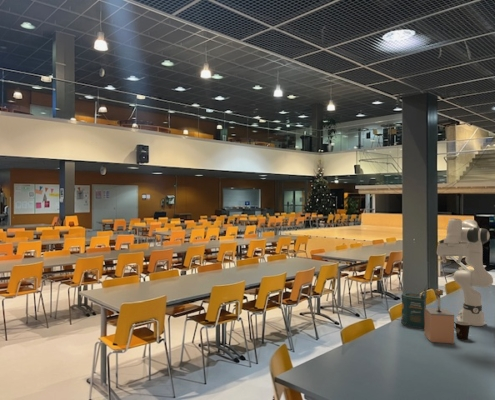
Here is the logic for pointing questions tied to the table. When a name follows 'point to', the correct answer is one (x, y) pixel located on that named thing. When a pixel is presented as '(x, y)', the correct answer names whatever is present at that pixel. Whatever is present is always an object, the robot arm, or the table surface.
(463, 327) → the coffee mug
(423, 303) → the donation box
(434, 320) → the brown block
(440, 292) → the plunger
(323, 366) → the table surface
